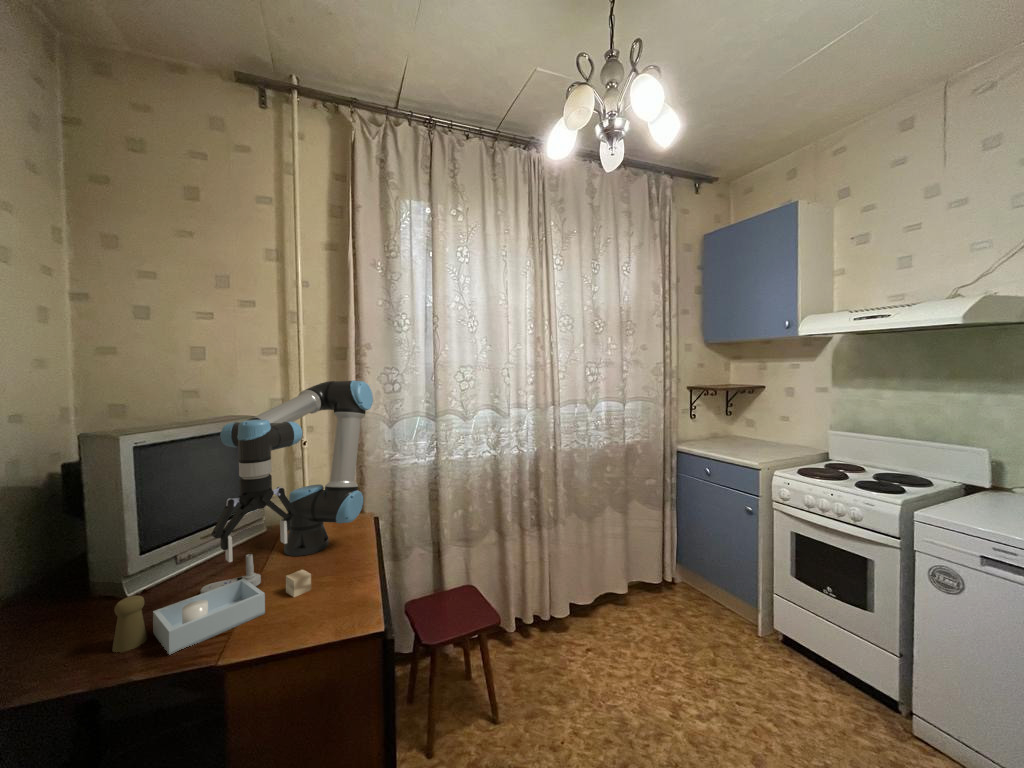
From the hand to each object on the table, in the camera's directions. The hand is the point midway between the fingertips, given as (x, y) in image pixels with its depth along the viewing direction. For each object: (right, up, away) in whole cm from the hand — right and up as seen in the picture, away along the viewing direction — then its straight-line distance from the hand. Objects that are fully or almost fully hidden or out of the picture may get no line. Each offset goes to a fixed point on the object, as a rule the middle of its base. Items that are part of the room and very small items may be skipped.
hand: (257, 551), depth 108 cm
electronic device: (-15, -17, +10) cm, 24 cm away
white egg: (-8, -15, -12) cm, 21 cm away
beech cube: (+7, -16, +9) cm, 19 cm away
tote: (-8, -16, -7) cm, 19 cm away
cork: (-21, -16, -15) cm, 31 cm away
